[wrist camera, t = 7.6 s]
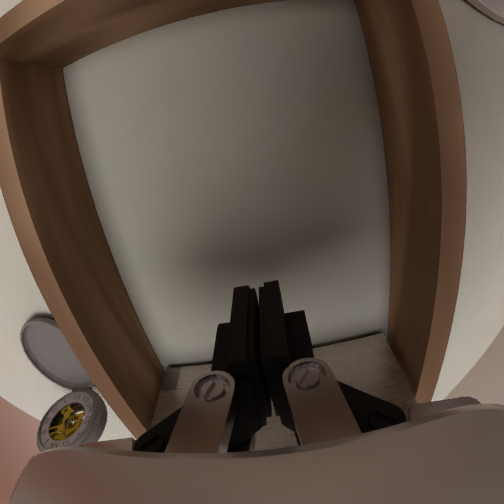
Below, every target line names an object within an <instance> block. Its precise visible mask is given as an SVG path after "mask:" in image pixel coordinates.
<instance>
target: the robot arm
mask: <svg viewBox="0 0 504 504" xmlns="http://www.w3.org/2000/svg"><path fill="white" fill-rule="evenodd" d="M467 1H468V2H469V3H471V4H472V5H473V6H475V7H476V8H477V9H479V10H480V11H481V12H482V13H484V14H486V15H487V16H489V17H491V18H492V19H494V20H495V21H497V22H500V23H502V24H504V0H467ZM271 399H272V402H273V406H274V410H275V413H276V416H280V420H281V423H282V425H283V426H285V427H287V428H288V429H290V430H292V431H293V432H294V435H295V439H296V442H297V445H298V446H293V447H285V448H277V449H268V450H258V451H254V448H255V443H256V435H255V433H256V432H258V431H259V430H260V429H261V428H262V427H263V426H267V417H272V405H271ZM8 504H504V405H500V404H481V403H480V402H478V401H477V400H476V399H474V398H471V397H459V398H453V399H447V400H440V401H433V402H426V403H418V404H410V405H409V408H400V407H398V406H397V405H395V404H393V403H390V402H388V401H385V400H383V399H380V398H378V397H375V396H373V395H370V394H368V393H365V392H363V391H361V390H358V389H356V388H354V387H351V386H349V385H347V384H344V383H342V382H340V381H337V380H336V378H335V376H334V374H333V372H332V370H331V368H330V367H329V365H328V364H327V363H326V362H324V361H323V360H320V359H317V358H314V353H313V348H312V344H311V339H310V335H309V330H308V326H307V321H306V317H305V312H304V310H302V311H296V312H291V313H285V314H284V309H283V303H282V298H281V293H280V287H279V282H278V280H276V281H270V282H265V283H264V287H259V303H258V299H257V295H256V291H255V288H252V289H250V288H249V286H248V285H247V286H241V287H235V288H234V291H233V301H232V310H231V320H230V322H229V323H222V324H219V325H218V328H217V334H216V341H215V347H214V354H213V361H212V368H211V371H210V372H207V373H204V374H202V375H200V376H199V377H197V378H196V379H195V380H194V381H193V382H192V384H191V386H190V388H189V390H188V393H187V395H186V398H185V401H184V403H183V406H182V407H180V408H179V409H177V410H176V411H175V412H173V413H172V414H171V415H169V416H168V417H166V418H165V419H163V420H162V421H161V422H159V423H158V424H156V425H155V426H154V427H152V428H151V429H149V430H148V431H146V432H145V433H143V434H142V435H141V436H140V437H139V438H138V439H137V440H134V439H133V438H132V437H131V438H124V439H117V440H108V441H99V442H89V443H85V444H83V445H81V446H68V447H57V448H53V449H48V450H44V451H41V452H39V453H37V454H35V455H34V456H33V457H32V458H31V459H30V460H29V461H28V463H27V464H26V466H25V467H24V469H23V470H22V472H21V474H20V477H19V478H18V480H17V483H16V485H15V487H14V490H13V492H12V495H11V497H10V500H9V503H8Z"/></svg>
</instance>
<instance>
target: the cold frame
mask: <svg viewBox="0 0 504 504" xmlns="http://www.w3.org/2000/svg"><path fill="white" fill-rule="evenodd" d="M271 1H280V0H23V1H22V2H20V3H19V4H18V5H16V6H15V7H14V8H12V9H11V10H10V11H8V12H7V13H6V14H4V15H3V16H2V17H1V18H0V187H1V190H2V193H3V197H4V200H5V203H6V207H7V210H8V213H9V216H10V219H11V222H12V224H13V227H14V230H15V233H16V236H17V238H18V241H19V243H20V246H21V249H22V251H23V254H24V256H25V258H26V261H27V263H28V265H29V268H30V270H31V272H32V275H33V277H34V279H35V281H36V283H37V286H38V288H39V290H40V292H41V294H42V296H43V298H44V300H45V302H46V304H47V306H48V308H49V310H50V312H51V314H52V316H53V317H54V319H55V321H56V323H57V325H58V327H59V328H60V330H61V332H62V334H63V335H64V337H65V339H66V341H67V342H68V344H69V346H70V347H71V349H72V351H73V352H74V354H75V356H76V357H77V359H78V360H79V362H80V364H81V365H82V367H83V368H84V370H85V371H86V373H87V374H88V376H89V377H90V379H91V380H92V382H93V383H94V385H95V386H96V387H97V389H98V390H99V392H100V393H101V394H102V396H103V397H104V399H105V400H106V401H107V403H108V404H109V405H110V407H111V408H112V409H113V411H114V412H115V413H116V415H117V416H118V417H119V418H120V420H121V421H122V422H123V423H124V425H125V426H126V427H127V428H128V430H129V431H130V432H131V433H132V434H133V436H134V437H135V438H136V439H138V438H139V437H140V436H141V435H142V434H143V433H145V432H146V431H148V430H149V429H150V428H151V424H152V421H153V417H154V413H155V409H156V406H157V402H158V398H159V395H160V391H161V387H162V384H163V380H164V377H165V372H164V370H163V368H162V366H161V364H160V363H159V361H158V359H157V357H156V355H155V353H154V351H153V349H152V347H151V345H150V343H149V341H148V339H147V336H146V334H145V332H144V330H143V328H142V326H141V324H140V322H139V319H138V317H137V315H136V313H135V311H134V308H133V306H132V304H131V301H130V299H129V297H128V294H127V292H126V290H125V287H124V285H123V283H122V280H121V278H120V275H119V273H118V270H117V268H116V265H115V262H114V260H113V257H112V255H111V252H110V249H109V247H108V244H107V241H106V238H105V236H104V233H103V230H102V227H101V224H100V221H99V218H98V215H97V212H96V209H95V206H94V203H93V199H92V196H91V193H90V190H89V186H88V183H87V179H86V176H85V172H84V169H83V165H82V161H81V158H80V154H79V150H78V146H77V142H76V138H75V133H74V129H73V125H72V120H71V115H70V110H69V105H68V100H67V95H66V89H65V83H64V77H63V71H62V68H63V67H64V66H66V65H68V64H70V63H72V62H74V61H76V60H78V59H80V58H82V57H84V56H86V55H88V54H90V53H93V52H95V51H97V50H99V49H101V48H104V47H106V46H108V45H111V44H113V43H115V42H118V41H120V40H123V39H125V38H128V37H130V36H133V35H136V34H138V33H141V32H144V31H147V30H150V29H153V28H156V27H159V26H162V25H165V24H168V23H171V22H175V21H178V20H182V19H185V18H189V17H193V16H197V15H201V14H205V13H209V12H213V11H218V10H223V9H228V8H233V7H238V6H244V5H250V4H257V3H264V2H271ZM354 1H355V4H356V8H357V11H358V15H359V18H360V22H361V26H362V29H363V33H364V37H365V41H366V45H367V50H368V54H369V58H370V63H371V68H372V72H373V77H374V83H375V88H376V93H377V99H378V105H379V111H380V118H381V125H382V132H383V140H384V148H385V157H386V168H387V179H388V192H389V209H390V238H391V278H390V306H389V323H388V337H387V342H388V344H389V346H390V348H391V350H392V352H393V354H394V356H395V358H396V360H397V362H398V364H399V366H400V368H401V370H402V372H403V374H404V376H405V378H406V380H407V382H408V384H409V387H410V389H411V391H412V393H413V395H414V397H415V399H416V401H417V404H418V403H426V402H431V399H432V396H433V393H434V390H435V387H436V384H437V381H438V377H439V374H440V371H441V367H442V363H443V360H444V356H445V352H446V348H447V344H448V340H449V336H450V331H451V327H452V322H453V317H454V312H455V306H456V301H457V295H458V289H459V282H460V275H461V267H462V259H463V249H464V237H465V222H466V188H467V183H466V150H465V135H464V124H463V114H462V106H461V98H460V91H459V85H458V79H457V74H456V68H455V63H454V58H453V54H452V49H451V45H450V41H449V37H448V33H447V29H446V25H445V22H444V18H443V15H442V12H441V8H440V5H439V2H438V0H354Z"/></svg>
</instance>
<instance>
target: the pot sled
mask: <svg viewBox="0 0 504 504" xmlns="http://www.w3.org/2000/svg"><path fill="white" fill-rule="evenodd" d="M313 353H314V358H317V359H320V360H323V361H324V362H326V363H327V364H328V365H329V367H330V368H331V370H332V372H333V374H334V376H335V378H336V380H337V381H340V382H342V383H344V384H347V385H349V386H351V387H354V388H356V389H358V390H361V391H363V392H365V393H368V394H370V395H373V396H375V397H378V398H380V399H383V400H385V401H388V402H390V403H393V404H395V405H397V406H398V407H400V408H409V405H410V404H417V401H416V399H415V397H414V395H413V393H412V391H411V389H410V387H409V384H408V382H407V380H406V378H405V376H404V374H403V372H402V370H401V368H400V366H399V364H398V362H397V360H396V358H395V356H394V354H393V352H392V350H391V348H390V346H389V344H388V342H387V341H386V339H385V337H384V335H383V333H380V334H376V335H372V336H368V337H364V338H359V339H355V340H351V341H346V342H342V343H337V344H332V345H328V346H323V347H318V348H313ZM211 368H212V364H206V365H196V366H186V367H174V368H167V370H166V373H165V377H164V380H163V384H162V387H161V391H160V395H159V398H158V402H157V406H156V409H155V413H154V417H153V421H152V424H151V428H152V427H154V426H155V425H156V424H158V423H159V422H161V421H162V420H163V419H165V418H166V417H168V416H169V415H171V414H172V413H173V412H175V411H176V410H177V409H179V408H180V407H182V406H183V403H184V401H185V398H186V395H187V393H188V390H189V388H190V386H191V384H192V382H193V381H194V380H195V379H196V378H197V377H199V376H200V375H202V374H204V373H207V372H210V371H211ZM271 405H272V417H267V426H263V427H262V428H261V429H260V430H259V431H258V432H256V433H255V435H256V443H255V448H254V451H258V450H268V449H277V448H285V447H293V446H298V445H297V442H296V439H295V435H294V432H293V431H292V430H290V429H288V428H287V427H285V426H283V425H282V423H281V420H280V416H276V413H275V410H274V406H273V402H272V399H271ZM151 428H150V429H151Z"/></svg>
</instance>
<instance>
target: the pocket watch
mask: <svg viewBox="0 0 504 504" xmlns="http://www.w3.org/2000/svg"><path fill="white" fill-rule="evenodd" d="M20 341H21V344H22V347H23V350H24V352H25V354H26V356H27V358H28V359H29V360H30V362H31V363H32V364H33V366H34V367H35V368H36V369H37V370H38V371H39V372H40V373H41V374H43V375H44V376H45V377H46V378H48V379H49V380H50V381H52V382H53V383H55V384H57V385H59V386H61V387H64V388H68V389H71V390H72V392H71V393H69V394H67V395H65V396H63V397H62V398H60V399H59V400H58V401H56V402H55V403H54V404H53V405H52V406H51V407H50V409H49V410H48V411H47V412H46V414H45V415H44V417H43V419H42V420H41V423H40V426H39V429H38V432H37V446H38V448H39V451H40V452H41V451H44V450H48V449H53V448H57V447H68V446H81V445H83V444H85V443H89V442H97V441H98V440H99V438H100V437H101V435H102V433H103V431H104V428H105V425H106V422H107V409H106V406H105V404H104V401H103V400H102V398H101V397H100V396H99V394H98V393H96V392H95V391H93V390H92V388H91V387H92V386H93V384H94V383H93V382H92V380H91V379H90V377H89V376H88V374H87V373H86V371H85V370H84V368H83V367H82V365H81V364H80V362H79V360H78V359H77V357H76V356H75V354H74V352H73V351H72V349H71V347H70V346H69V344H68V342H67V341H66V339H65V337H64V335H63V334H62V332H61V330H60V328H59V327H58V325H57V323H56V321H54V320H51V319H48V318H33V319H30V320H29V321H28V322H27V323H25V324H24V326H23V327H22V329H21V333H20ZM79 411H84V412H83V413H80V414H77V415H76V414H75V413H77V412H79ZM82 415H83V416H84V415H85V417H84V419H82V418H83V416H82ZM73 417H74V418H73ZM81 417H82V418H81ZM75 420H78V421H75ZM71 421H72V422H73V421H74V423H73V424H72V422H71ZM60 432H61V433H60ZM58 433H60V434H58Z"/></svg>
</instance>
